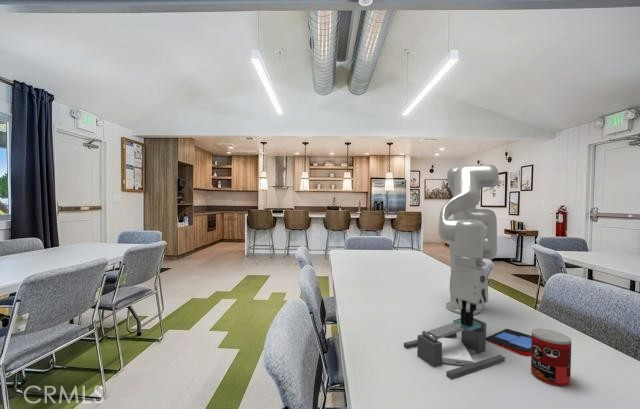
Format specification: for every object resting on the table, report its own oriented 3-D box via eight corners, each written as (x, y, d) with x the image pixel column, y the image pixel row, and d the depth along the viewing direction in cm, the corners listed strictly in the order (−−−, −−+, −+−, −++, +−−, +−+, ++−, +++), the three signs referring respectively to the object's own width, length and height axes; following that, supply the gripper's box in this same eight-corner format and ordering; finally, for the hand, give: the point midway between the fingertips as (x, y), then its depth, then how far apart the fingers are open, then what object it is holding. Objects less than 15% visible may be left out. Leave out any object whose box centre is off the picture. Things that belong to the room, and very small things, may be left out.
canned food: (523, 369, 76) (524, 328, 76) (551, 368, 77) (551, 327, 77) (548, 387, 69) (549, 342, 69) (579, 386, 69) (580, 341, 69)
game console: (505, 331, 100) (506, 325, 100) (549, 347, 89) (549, 340, 89) (483, 341, 93) (483, 334, 93) (528, 360, 82) (528, 352, 82)
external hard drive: (461, 344, 89) (474, 366, 77) (433, 341, 90) (442, 362, 78) (461, 339, 89) (474, 360, 77) (433, 336, 90) (442, 357, 78)
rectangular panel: (464, 320, 89) (464, 316, 89) (481, 327, 84) (480, 323, 84) (420, 334, 82) (420, 330, 82) (435, 343, 77) (435, 339, 77)
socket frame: (452, 334, 96) (453, 309, 96) (504, 361, 80) (505, 331, 80) (403, 346, 87) (404, 318, 87) (451, 379, 71) (451, 345, 71)
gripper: (500, 266, 80) (499, 331, 80) (455, 257, 94) (454, 313, 93) (482, 268, 77) (481, 336, 77) (438, 258, 91) (437, 316, 90)
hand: (466, 323), depth 85 cm, fingers closed
